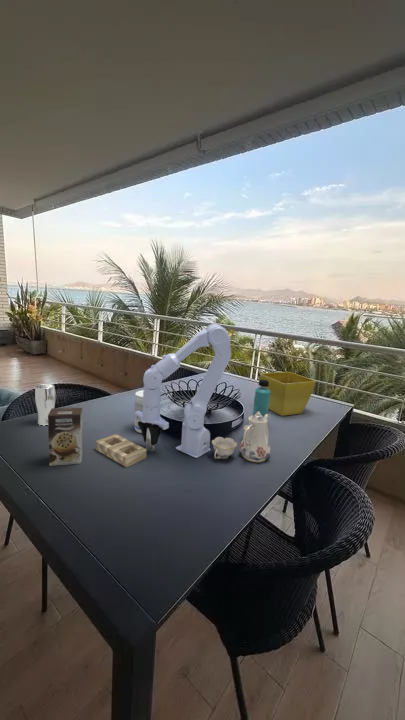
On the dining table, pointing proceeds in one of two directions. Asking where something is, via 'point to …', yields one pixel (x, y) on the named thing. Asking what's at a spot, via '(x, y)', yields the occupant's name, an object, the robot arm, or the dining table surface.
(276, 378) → the flower pot
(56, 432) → the coffee box
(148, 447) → the peg
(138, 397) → the supplement tub
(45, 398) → the beer glass
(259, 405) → the beverage bottle
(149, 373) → the robot arm
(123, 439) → the hole block
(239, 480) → the dining table surface
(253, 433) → the chinaware
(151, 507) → the dining table surface
